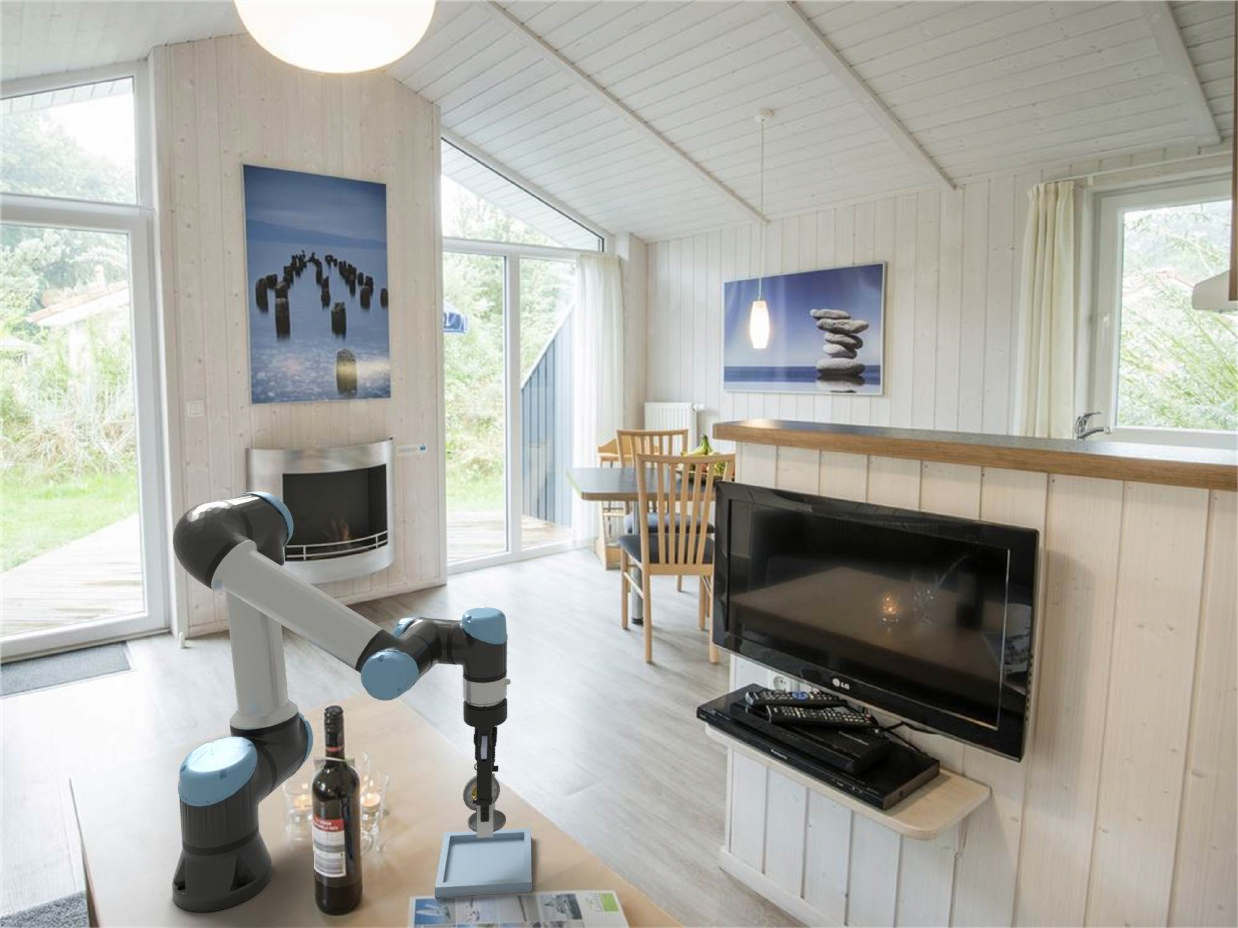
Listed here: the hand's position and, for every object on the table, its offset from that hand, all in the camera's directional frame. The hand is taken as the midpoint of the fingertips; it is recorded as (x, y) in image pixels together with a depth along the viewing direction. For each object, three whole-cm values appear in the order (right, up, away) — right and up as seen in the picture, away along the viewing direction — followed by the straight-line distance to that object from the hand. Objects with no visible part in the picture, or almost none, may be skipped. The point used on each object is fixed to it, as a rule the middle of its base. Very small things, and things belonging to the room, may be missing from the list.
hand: (486, 821), depth 142 cm
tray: (0, -8, +1) cm, 8 cm away
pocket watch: (0, 0, +1) cm, 1 cm away
